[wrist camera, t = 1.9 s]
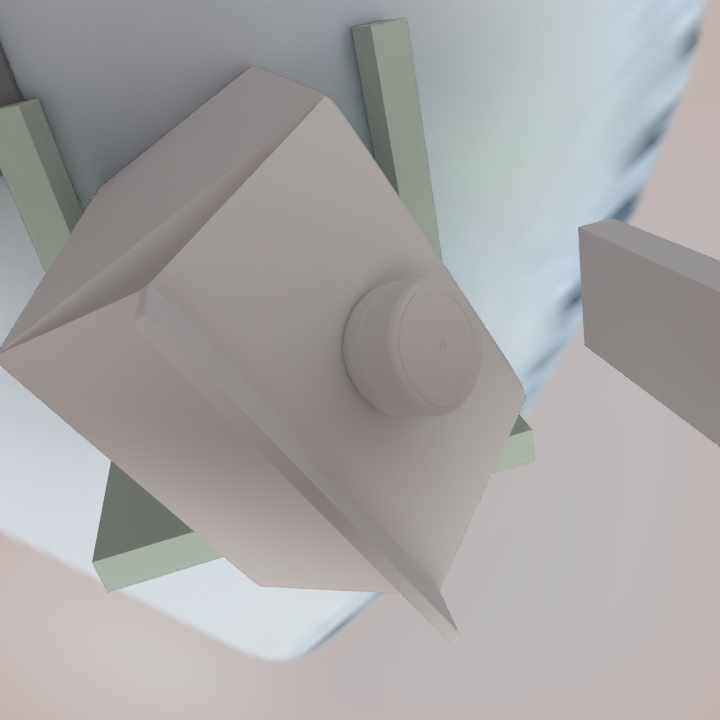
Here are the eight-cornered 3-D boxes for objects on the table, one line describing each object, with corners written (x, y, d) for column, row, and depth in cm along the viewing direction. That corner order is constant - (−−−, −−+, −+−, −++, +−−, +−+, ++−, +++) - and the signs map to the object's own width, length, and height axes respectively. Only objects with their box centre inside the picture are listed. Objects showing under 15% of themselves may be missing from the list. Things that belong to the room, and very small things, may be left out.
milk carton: (226, 327, 28) (279, 763, 11) (98, 187, 25) (-103, 505, 8) (365, 221, 27) (645, 512, 10) (253, 62, 24) (400, 116, 7)
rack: (1, 105, 23) (-118, 147, 14) (383, 20, 24) (493, 9, 15) (133, 422, 29) (107, 592, 20) (434, 337, 30) (535, 461, 21)
